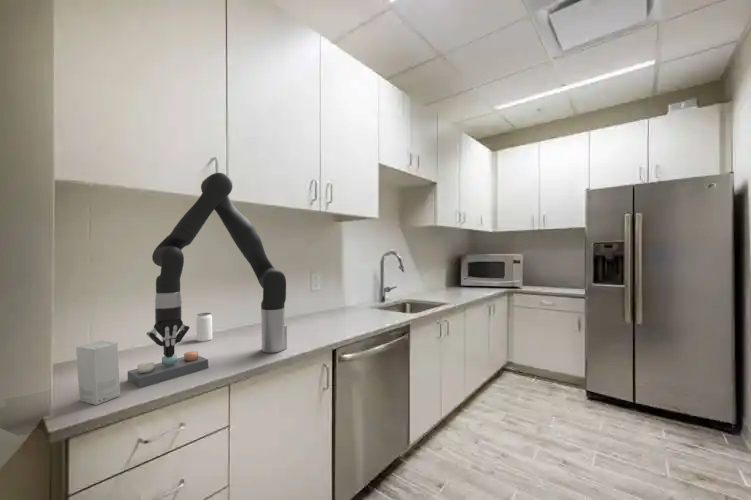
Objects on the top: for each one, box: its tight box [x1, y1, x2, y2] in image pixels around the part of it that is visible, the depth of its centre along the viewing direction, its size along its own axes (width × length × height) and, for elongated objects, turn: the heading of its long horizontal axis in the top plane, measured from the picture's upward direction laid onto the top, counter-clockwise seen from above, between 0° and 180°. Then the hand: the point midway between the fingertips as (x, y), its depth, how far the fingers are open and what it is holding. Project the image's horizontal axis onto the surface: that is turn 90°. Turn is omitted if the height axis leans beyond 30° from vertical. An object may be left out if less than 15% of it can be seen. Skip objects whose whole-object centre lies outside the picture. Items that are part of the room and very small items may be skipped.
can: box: [195, 312, 213, 343], centre depth 155 cm, size 6×6×12 cm
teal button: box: [161, 354, 178, 365], centre depth 114 cm, size 4×4×2 cm
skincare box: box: [75, 340, 121, 406], centre depth 96 cm, size 8×7×16 cm
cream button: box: [136, 361, 155, 373], centre depth 109 cm, size 4×4×2 cm
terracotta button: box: [183, 350, 199, 361], centre depth 120 cm, size 4×4×2 cm
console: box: [127, 355, 209, 389], centre depth 114 cm, size 21×10×3 cm, turn 143°
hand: (169, 356), depth 114 cm, fingers closed
